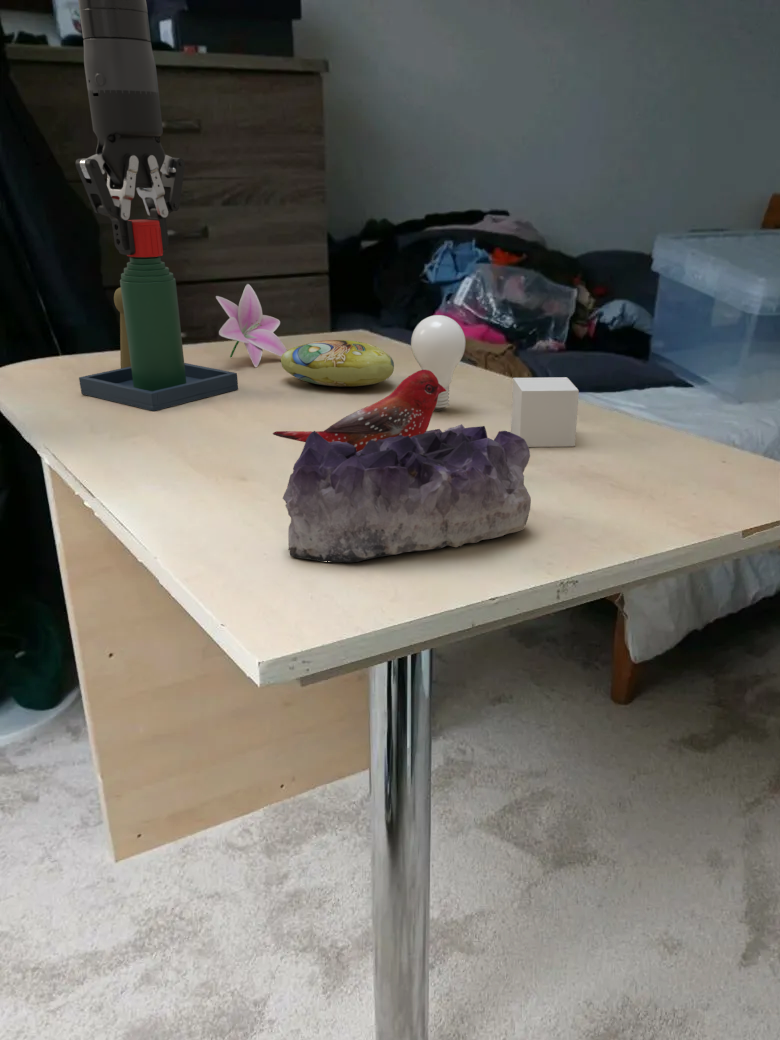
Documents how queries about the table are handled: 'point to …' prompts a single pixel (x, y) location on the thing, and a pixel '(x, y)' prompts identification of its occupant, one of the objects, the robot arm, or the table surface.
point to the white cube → (544, 411)
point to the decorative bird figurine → (385, 414)
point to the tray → (197, 387)
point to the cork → (122, 331)
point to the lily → (251, 326)
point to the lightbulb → (439, 350)
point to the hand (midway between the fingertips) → (143, 252)
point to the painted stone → (338, 363)
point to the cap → (147, 238)
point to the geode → (405, 493)
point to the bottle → (152, 324)
